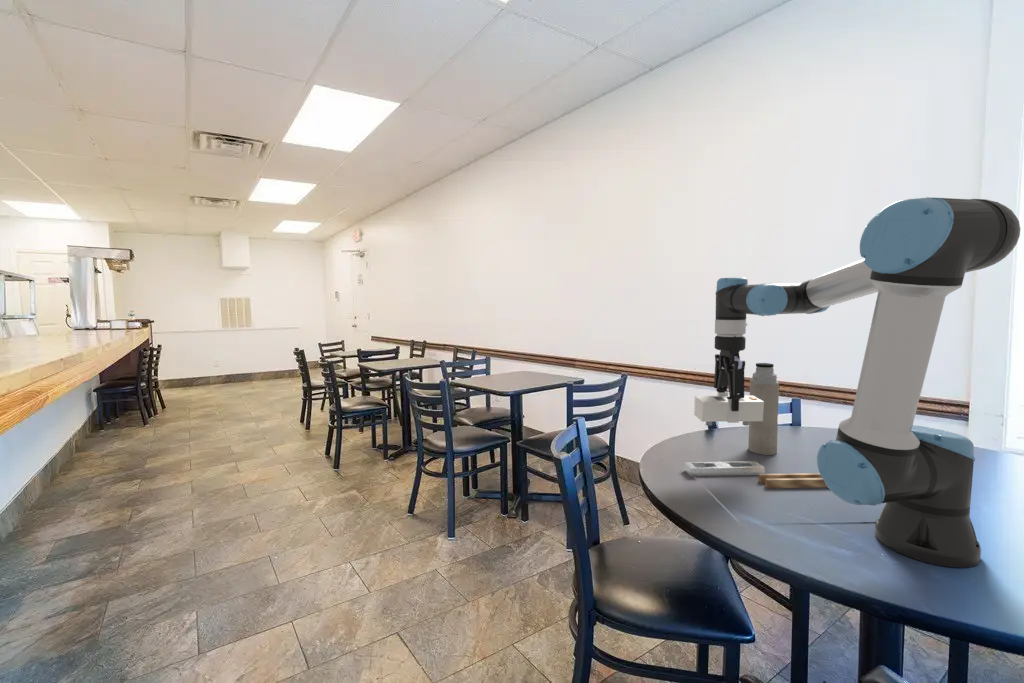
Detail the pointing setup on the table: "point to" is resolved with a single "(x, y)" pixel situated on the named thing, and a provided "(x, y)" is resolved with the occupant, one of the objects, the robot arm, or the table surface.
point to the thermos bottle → (765, 410)
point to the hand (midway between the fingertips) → (727, 418)
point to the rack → (792, 480)
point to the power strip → (717, 409)
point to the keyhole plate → (724, 468)
